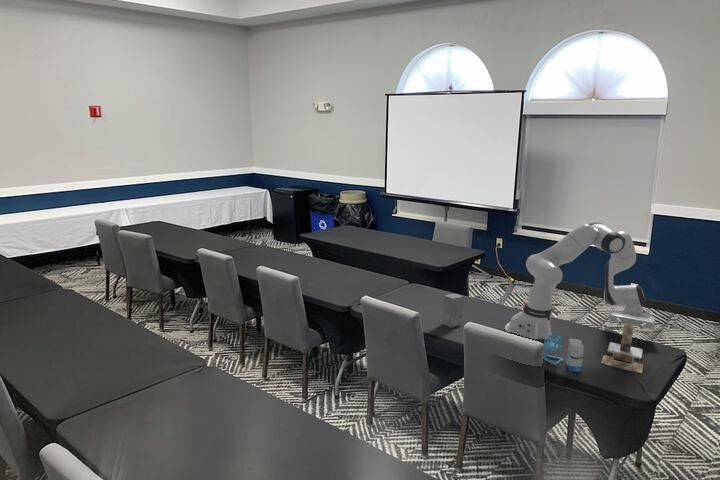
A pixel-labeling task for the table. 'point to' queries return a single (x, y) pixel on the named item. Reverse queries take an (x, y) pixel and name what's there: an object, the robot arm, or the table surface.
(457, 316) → the skincare box
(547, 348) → the chair
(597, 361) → the table surface
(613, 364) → the tan frame holder
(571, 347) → the ink box
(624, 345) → the block
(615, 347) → the board
